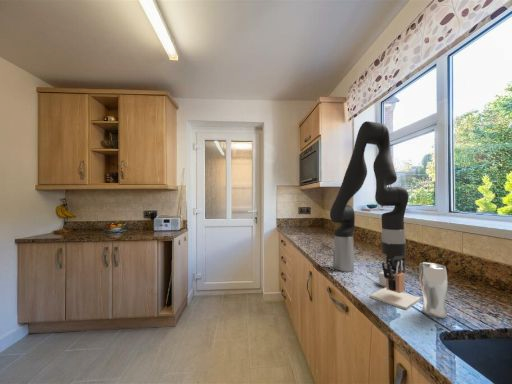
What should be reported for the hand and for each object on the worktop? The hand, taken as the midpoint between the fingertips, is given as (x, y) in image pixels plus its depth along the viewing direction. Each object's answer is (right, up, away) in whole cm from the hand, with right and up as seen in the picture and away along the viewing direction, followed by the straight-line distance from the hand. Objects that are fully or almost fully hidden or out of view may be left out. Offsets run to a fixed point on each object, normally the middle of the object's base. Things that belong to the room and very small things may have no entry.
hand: (395, 288), depth 82 cm
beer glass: (+6, -4, -11) cm, 13 cm away
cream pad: (0, -4, 0) cm, 4 cm away
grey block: (+4, -4, +13) cm, 14 cm away
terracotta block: (0, -1, 0) cm, 1 cm away
